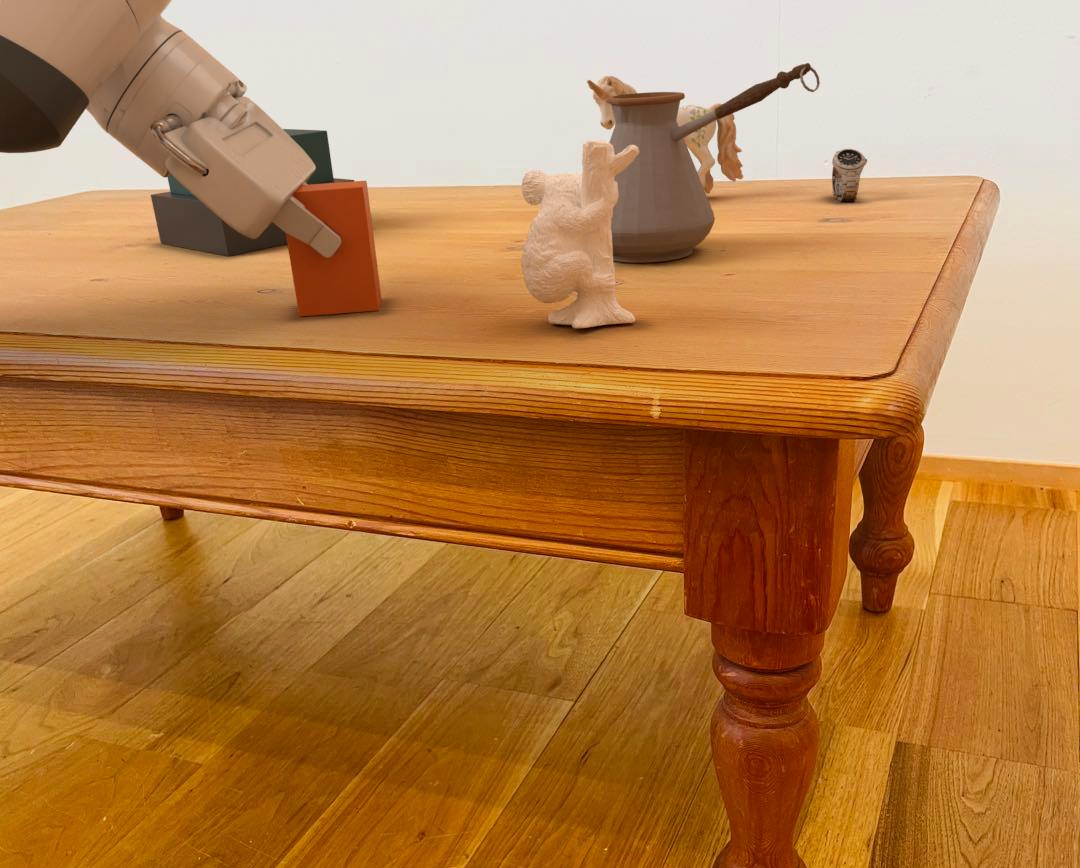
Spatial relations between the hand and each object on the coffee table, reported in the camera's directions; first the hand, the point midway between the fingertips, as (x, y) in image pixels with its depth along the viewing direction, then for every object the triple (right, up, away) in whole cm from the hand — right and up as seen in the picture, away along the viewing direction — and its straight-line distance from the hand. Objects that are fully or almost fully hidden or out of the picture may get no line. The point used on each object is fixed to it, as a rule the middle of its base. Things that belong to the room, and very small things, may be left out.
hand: (340, 243), depth 81 cm
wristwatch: (+47, +14, +33) cm, 59 cm away
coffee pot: (+28, +1, +10) cm, 30 cm away
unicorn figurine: (+28, +13, +34) cm, 47 cm away
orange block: (0, -4, +2) cm, 5 cm away
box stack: (-15, +10, +34) cm, 38 cm away
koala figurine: (+18, -8, -6) cm, 21 cm away
